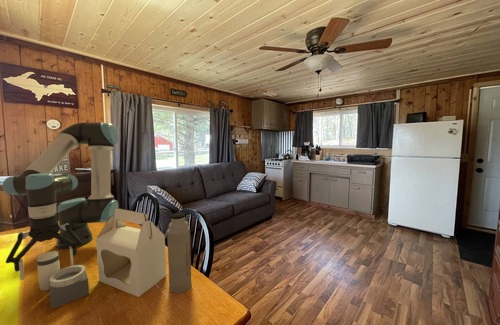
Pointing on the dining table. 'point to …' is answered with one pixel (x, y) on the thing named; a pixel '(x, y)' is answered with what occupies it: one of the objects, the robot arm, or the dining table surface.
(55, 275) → the grey socket block
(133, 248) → the gable box
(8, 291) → the dining table surface
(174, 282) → the thermos bottle
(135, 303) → the dining table surface
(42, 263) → the beige rounded cylinder
